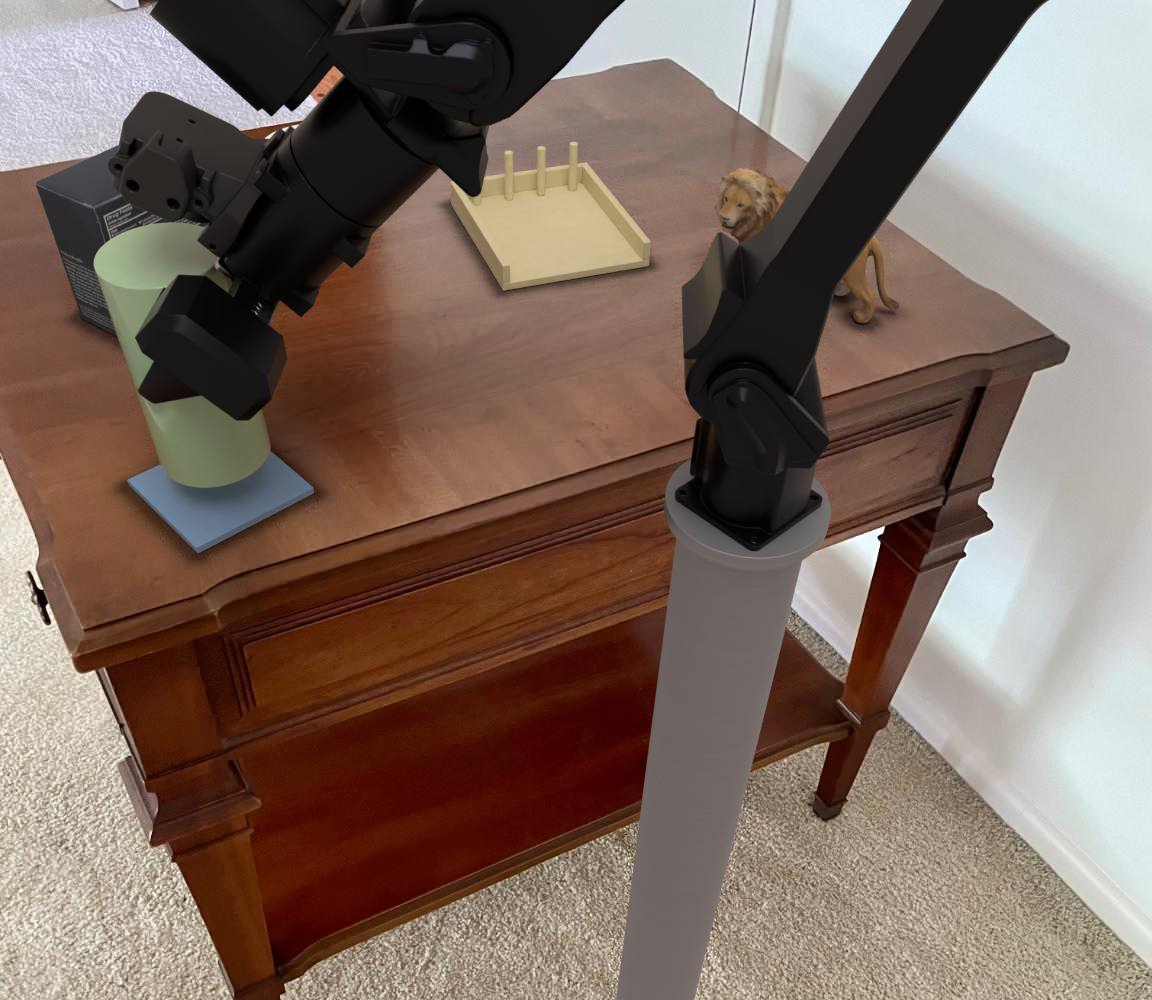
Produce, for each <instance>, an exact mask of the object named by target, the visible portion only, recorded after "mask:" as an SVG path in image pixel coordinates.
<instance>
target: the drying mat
mask: <svg viewBox="0 0 1152 1000" xmlns="http://www.w3.org/2000/svg"><path fill="white" fill-rule="evenodd" d="M126 481H127V484H128V486H129V487H130V488H131V489H132V490H133V491H134V492H135V493H136V494H137V495H138V496H139V497H140V498H141V499H142V500H143V501H144V502H145V503H146V504H147V505H148V506H149V507H150V508H151V509H152V510H153V511H154V512H155V513H156V514H157V515H158V516H159V517H160V519H162V520H163V521H164V522H165V523H166V524H167V525H168V526H169V527H170V528H171V529H172V530H173V531H174V532H175V533H176V534H177V535H178V536H179V537H181V539H182V540H183V541H184V542H185V543H186V544H187V545H188V546H189V547H190V548H191V549H193V551H194V552H195V553H197V554H201V553H202V552H205V551H206V550H208V549H210V548H212V547H214V546H216V545H218V544H220V543H222V542H223V541H225V540H227V539H229V538H231V537H233V536H235V535H237V534H239V533H240V532H243V531H245V530H247V529H248V528H251V527H253V526H254V525H257V524H258V523H260V522H262V521H264V520H266V519H268V518H270V517H272V516H273V515H275V514H277V513H279V512H281V511H283V510H285V509H287V508H289V507H291V506H293V505H295V504H297V503H299V502H300V501H302V500H304V499H306V498H308V497H310V496H311V495H314V494H315V490H314V486H312V484H310V483H309V482H308V481H306V480H305V479H304V478H303V477H302V476H301V475H300V474H298V473H297V472H296V471H295V470H294V469H292V468H291V467H290V466H289V465H288V464H286V463H285V462H284V461H283V460H282V459H281V458H279V457H278V456H277V455H276V454H275V453H274V452H273V451H271V450H270V452H269V455H268V457H267V459H266V461H265V462H264V464H263V465H262V466H261V467H260V468H259V469H258V470H257V471H255V472H254V473H253V474H251V475H250V476H248V477H246V478H244V479H242V480H240V481H238V482H235V483H232V484H228V485H225V486H219V487H211V488H198V487H191V486H186V485H183V484H180V483H178V482H175V481H174V480H172V479H171V478H169V477H168V476H167V475H166V474H165V473H164V471H163V470H162V468H161V466H160V464H158V465H155V466H154V467H151V468H149V469H147V470H145V471H143V472H141V473H139V474H137V475H134V476H132V477H130V478H128V479H126Z"/></svg>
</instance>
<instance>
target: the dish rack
mask: <svg viewBox="0 0 1152 1000" xmlns="http://www.w3.org/2000/svg"><path fill="white" fill-rule="evenodd" d="M568 145H569V146H568V147H569V148H568V164H563V165H556V166H549V167H546V165H547V164H546V162H547V161H546V160H547V158H546V156H547V148H546V147H545V146H543V145H539V146H537V148H536V168H535V169H528V170H521V171H515V172H514V152H513V151H512V150H505V151H504V152H503V153H504V154H503V155H504V157H503V158H504V160H503V161H504V162H503V163H504V173H500V174H494V175H485V177H484V181H483V186H482V190H481V193H480V194H479V196H477V197H470V196H468V195H467V194H466V193H465V192H464V191H463V190H462V189H461V188H460V187H459V186H458V185H456V184H455V183H454V182H453V181H452V180H451V181H450V182H449V184H450V187H449V188H450V202H451V203H450V204H451V207H452V208H453V210H454V212H455V213H456V215H457V217H458V218H459V220H460V221H461V223H462V225H463V227H464V228H465V230H466V232H467V234H468V235H469V237H470V238H471V240H472V242H473V243H474V245H475V247H476V248H477V250H478V252H479V253H480V255H481V257H482V259H483V260H484V262H485V263H486V265H487V267H488V269H489V270H490V271H491V273H492V275H493V277H494V278H495V280H496V281H497V283H498V285H499V286H500V288H501V290H502V291H510V290H516V289H521V288H528V287H534V286H540V285H545V284H552V283H557V282H563V281H570V280H574V279H575V280H576V279H581V278H586V277H594V276H599V275H605V274H611V273H616V272H623V271H628V270H633V269H640V268H646V267H649V266H650V258H651V257H650V256H651V248H652V246H651V244H652V241H651V240H650V239H649V237H648V236H647V235H646V234H645V232H644V231H643V230H642V229H641V227H640V226H639V225H638V224H637V222H636V221H635V220H634V219H633V218H632V216H631V215H630V214H629V213H628V211H627V210H626V209H625V208H624V207H623V205H622V204H621V203H620V202H619V201H618V199H617V198H616V197H615V196H614V194H613V193H612V192H611V190H610V189H609V188H608V187H607V185H606V184H605V183H604V182H603V181H602V179H601V178H600V177H599V176H598V174H597V173H596V172H595V171H594V169H593V168H592V167H591V166H590V165H589V163H587V162H578V155H579V154H578V153H579V143H578V142H577V141H570V142H569V144H568Z"/></svg>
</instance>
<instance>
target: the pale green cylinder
mask: <svg viewBox="0 0 1152 1000" xmlns="http://www.w3.org/2000/svg"><path fill="white" fill-rule="evenodd" d="M204 229H205V228H204V227H201V226H198V225H194V224H188V223H172V222H169V223H157V224H150V225H145V226H141V227H137V228H134V229H131V230H128V231H126V232H123V233H121V234H119V235H117V236H115V237H113V238H112V239H110V240H109V241H108V242H106V243H105V244H104V245H103V246H102V247H101V248H100V249H99V250H98V252H97V253H96V255H95V258H94V269H95V272H96V275H97V278H98V281H99V284H100V287H101V290H102V293H103V296H104V299H105V302H106V305H107V308H108V311H109V314H110V317H111V320H112V323H113V326H114V329H115V332H116V335H117V336H116V337H117V341H118V344H119V347H120V349H121V353H122V356H123V358H124V361H125V365H126V367H127V370H128V373H129V376H130V379H131V382H132V385H133V388H134V391H135V394H136V397H137V400H138V403H139V406H140V410H141V412H142V415H143V418H144V421H145V424H146V427H147V429H148V433H149V436H150V439H151V442H152V444H153V447H154V450H155V453H156V456H157V459H158V463H159V465H160V466H161V468H162V470H163V471H164V473H165V474H166V475H167V476H168V477H169V478H171V479H172V480H174V481H175V482H178V483H180V484H183V485H186V486H191V487H198V488H211V487H219V486H225V485H228V484H232V483H235V482H238V481H240V480H242V479H244V478H246V477H248V476H250V475H251V474H253V473H254V472H255V471H257V470H258V469H259V468H260V467H261V466H262V465H263V464H264V462H265V461H266V459H267V457H268V455H269V452H270V451H271V445H272V444H271V438H270V434H269V430H268V426H267V421H266V417H265V413H264V409H263V408H262V409H261V410H260V411H259V412H258V413H257V414H256V415H255V416H254V417H252V418H251V419H250V420H249V421H236V420H235V419H233V418H232V417H230V416H229V415H228V414H226V413H225V412H224V411H222V410H221V409H219V408H218V407H217V406H215V405H214V404H212V403H211V402H210V401H208V400H207V399H206V398H204V397H203V396H197V397H191V398H186V399H180V400H175V401H170V402H164V403H159V404H153V403H151V402H150V401H148V400H147V399H145V398H144V397H142V396H141V395H140V394H139V393H138V389H139V387H140V385H141V383H142V381H143V380H144V378H145V376H146V374H147V372H148V370H149V368H150V367H151V365H152V363H153V360H151V359H150V358H149V357H147V356H146V355H145V354H143V353H142V352H141V350H140V348H139V346H138V343H137V341H136V339H135V336H136V334H137V333H138V331H139V329H140V327H141V326H142V324H143V322H144V320H145V319H146V317H147V315H148V313H149V311H150V310H151V308H152V306H153V305H154V303H155V302H156V300H157V298H158V296H159V295H160V293H161V291H162V289H163V288H164V287H165V288H166V287H167V286H168V285H169V284H170V283H171V282H172V281H173V280H174V279H175V277H176V276H177V275H178V274H182V275H202V276H207V277H208V278H210V279H211V280H212V281H213V282H215V283H216V284H217V285H219V286H220V287H221V288H222V289H224V290H225V291H226V292H227V293H228V291H229V289H230V287H231V285H232V279H229V278H227V277H225V276H224V275H223V274H221V273H220V272H219V271H218V270H217V269H216V268H215V263H216V261H217V259H218V257H217V256H215V255H214V254H213V253H212V252H210V251H209V250H208V249H207V248H205V247H204V246H203V245H202V244H200V243H199V242H198V241H197V239H198V238H199V236H200V234H201V232H202V231H203V230H204Z"/></svg>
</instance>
